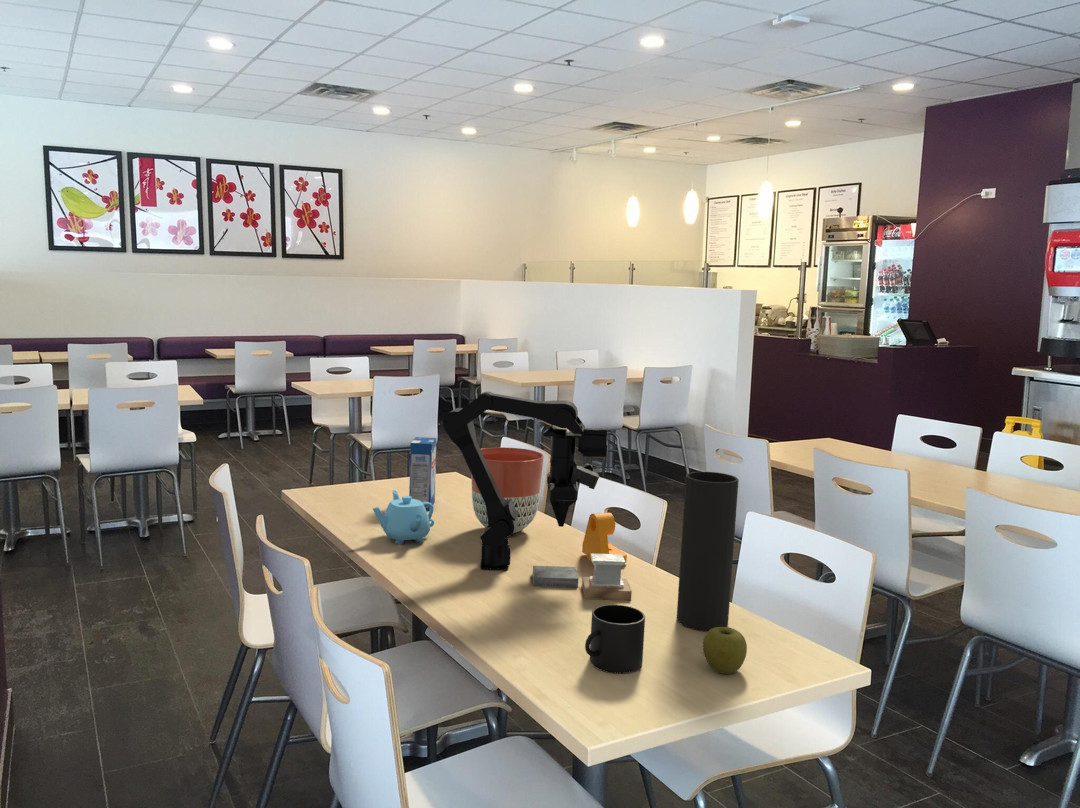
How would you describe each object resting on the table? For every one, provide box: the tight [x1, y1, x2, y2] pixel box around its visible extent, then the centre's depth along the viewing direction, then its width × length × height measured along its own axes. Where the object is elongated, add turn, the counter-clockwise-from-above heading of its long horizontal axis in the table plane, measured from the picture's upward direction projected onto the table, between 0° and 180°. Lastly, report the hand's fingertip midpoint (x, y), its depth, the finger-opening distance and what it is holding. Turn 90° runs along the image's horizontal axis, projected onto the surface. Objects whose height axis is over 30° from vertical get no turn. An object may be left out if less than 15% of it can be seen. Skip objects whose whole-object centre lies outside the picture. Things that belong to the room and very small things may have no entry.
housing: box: [589, 554, 626, 588], centre depth 186 cm, size 7×5×6 cm
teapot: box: [372, 489, 435, 546], centre depth 219 cm, size 15×14×11 cm
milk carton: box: [408, 436, 437, 512], centre depth 252 cm, size 10×6×20 cm, turn 179°
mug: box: [584, 604, 646, 674], centre depth 150 cm, size 9×12×9 cm
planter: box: [470, 446, 545, 535], centre depth 229 cm, size 20×20×21 cm
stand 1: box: [532, 565, 579, 588], centre depth 193 cm, size 10×8×2 cm
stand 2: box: [581, 576, 633, 601], centre depth 186 cm, size 10×8×2 cm
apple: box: [702, 626, 748, 675], centre depth 150 cm, size 8×8×7 cm
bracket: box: [581, 512, 628, 564], centre depth 208 cm, size 11×7×12 cm, turn 22°
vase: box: [676, 471, 739, 632], centre depth 170 cm, size 10×10×30 cm
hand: (560, 521), depth 198 cm, fingers open, 9 cm apart
